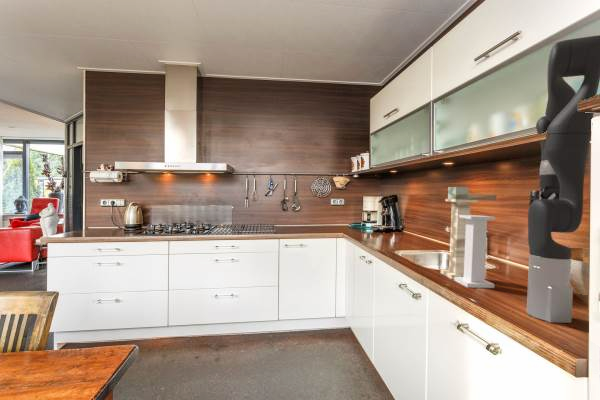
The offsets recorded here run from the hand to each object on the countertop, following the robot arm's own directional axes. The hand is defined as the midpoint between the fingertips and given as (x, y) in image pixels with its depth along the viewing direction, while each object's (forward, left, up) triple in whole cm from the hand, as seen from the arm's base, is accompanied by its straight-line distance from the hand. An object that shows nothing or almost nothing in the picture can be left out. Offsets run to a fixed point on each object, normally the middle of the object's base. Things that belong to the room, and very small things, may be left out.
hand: (551, 221), depth 107 cm
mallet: (+23, +15, +6) cm, 28 cm away
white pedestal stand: (+12, +19, -26) cm, 34 cm away
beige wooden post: (+23, +19, -26) cm, 39 cm away
